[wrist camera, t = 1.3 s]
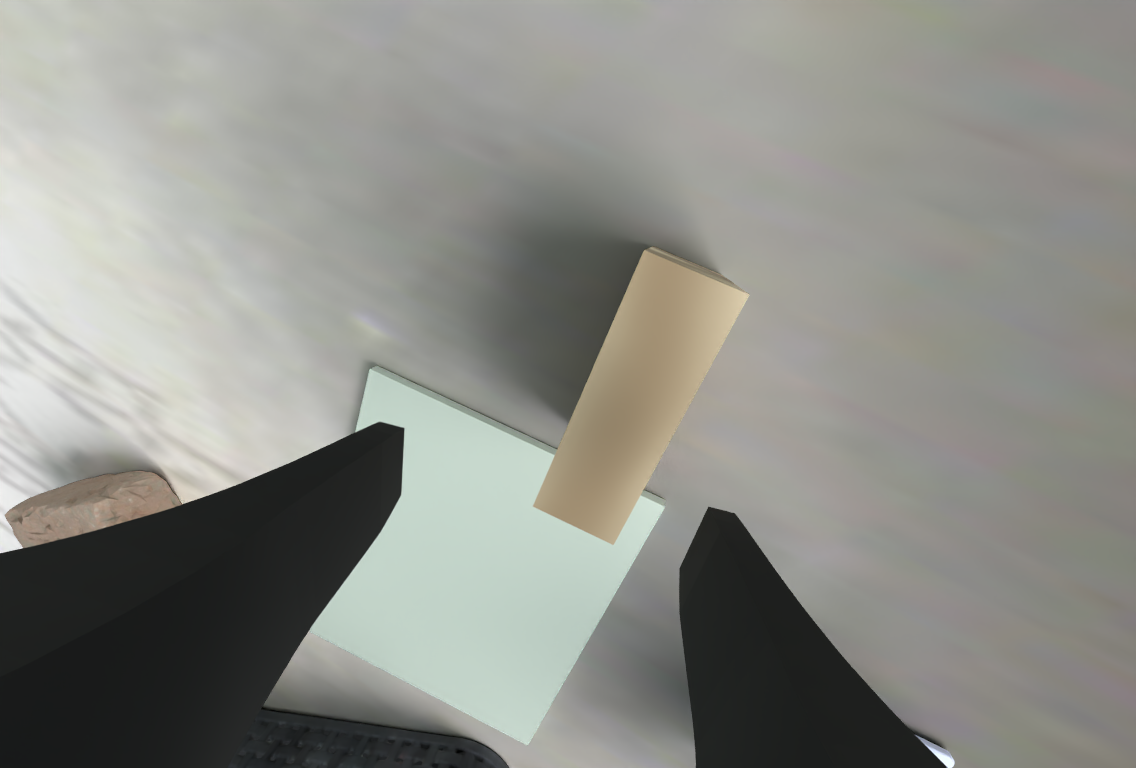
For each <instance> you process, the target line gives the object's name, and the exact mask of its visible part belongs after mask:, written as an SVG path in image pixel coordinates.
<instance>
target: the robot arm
mask: <svg viewBox="0 0 1136 768" xmlns="http://www.w3.org/2000/svg"><path fill="white" fill-rule="evenodd" d="M404 430H405V428H403V427H399V426H395V425H391V424H387V423H384V422H377V423H375V424H372V425H370V426H368V427H366V428H364V429H361V430H359V431H357V432H355V433H353V434H351V435H349V436H347V437H345V438H343V439H340V440H338V441H336V442H334V443H332V444H330V445H328V446H326V447H323V448H321V449H319V450H317V451H315V452H313V453H311V454H308V455H306V456H304V457H302V458H300V459H298V460H295V461H293V462H291V463H289V464H286V465H284V466H281V467H279V468H277V469H274V470H272V471H269V472H267V473H265V474H262V475H260V476H257V477H255V478H253V479H250V480H248V481H245V482H243V483H241V484H238V485H236V486H233V487H230V488H228V489H225V490H222V491H220V492H217V493H214V494H211V495H209V496H206V497H203V498H200V499H197V500H194V501H191V502H188V503H185V504H182V505H179V506H176V507H173V508H170V509H167V510H164V511H161V512H158V513H154V514H151V515H147V516H144V517H140V518H137V519H133V520H130V521H126V522H123V523H119V524H116V525H112V526H109V527H105V528H102V529H98V530H95V531H91V532H88V533H84V534H80V535H76V536H72V537H68V538H64V539H60V540H56V541H52V542H48V543H44V544H40V545H35V546H31V547H27V548H22V549H18V550H13V551H9V552H5V553H0V768H227V767H228V765H229V764H230V762H231V760H232V758H233V756H234V755H235V753H236V751H237V749H238V747H239V746H240V744H241V742H242V740H243V739H244V737H245V735H246V734H247V732H248V730H249V728H250V727H251V725H252V723H253V722H254V720H255V718H256V716H257V715H258V713H259V711H260V710H261V708H262V706H263V704H264V703H265V701H266V699H267V698H268V696H269V694H270V692H271V691H272V689H273V687H274V686H275V684H276V683H277V681H278V679H279V678H280V676H281V674H282V673H283V671H284V669H285V668H286V666H287V664H288V663H289V661H290V660H291V658H292V656H293V655H294V653H295V651H296V650H297V648H298V646H299V645H300V643H301V642H302V640H303V639H304V637H305V636H306V634H307V633H308V631H309V630H310V628H311V627H312V625H313V624H314V622H315V621H316V620H317V618H318V617H319V615H320V614H321V613H322V611H323V610H324V609H325V607H326V606H327V605H328V603H329V602H330V601H331V599H332V598H333V597H334V595H335V594H336V592H337V591H338V590H339V588H340V587H341V586H342V584H343V583H344V582H345V580H346V579H347V578H348V576H349V575H350V574H351V572H352V571H353V570H354V568H355V567H356V565H357V564H358V563H359V561H360V560H361V559H362V557H363V556H364V555H365V553H366V552H367V550H368V549H369V548H370V546H371V545H372V544H373V542H374V541H375V539H376V538H377V537H378V535H379V534H380V532H381V531H382V529H383V527H384V525H385V524H386V522H387V520H388V518H389V517H390V515H391V513H392V511H393V509H394V508H395V506H396V504H397V502H398V500H399V498H400V497H401V492H402V471H403V451H404ZM679 605H680V621H681V630H682V638H683V646H684V655H685V663H686V671H687V678H688V686H689V694H690V702H691V710H692V718H693V728H694V739H695V752H696V768H952V767H953V765H954V760H953V758H952V756H951V754H950V753H949V752H948V751H947V750H945V749H943V748H941V747H939V746H937V745H935V744H933V743H931V742H929V741H927V740H925V739H923V738H921V737H919V736H917V735H915V734H914V733H913V732H912V731H911V730H910V729H909V728H908V727H907V726H906V725H905V724H904V723H903V722H902V721H901V720H900V719H899V718H898V717H897V716H896V715H895V714H894V713H893V712H892V711H891V710H890V709H889V708H888V706H887V705H886V704H885V703H884V702H883V701H882V700H881V699H880V698H879V697H878V696H877V694H876V693H875V692H874V691H873V690H872V689H871V688H870V687H869V686H868V684H867V683H866V682H865V681H864V680H863V679H862V678H861V677H860V676H859V675H858V673H857V672H856V671H855V670H854V669H853V668H852V667H851V666H850V664H849V663H848V662H847V661H846V660H845V659H844V657H843V656H842V655H841V654H840V653H839V652H838V650H837V649H836V648H835V647H834V645H833V644H832V643H831V642H830V641H829V639H828V638H827V637H826V636H825V634H824V633H823V632H822V631H821V629H820V628H819V627H818V626H817V624H816V623H815V622H814V621H813V620H812V618H811V617H810V616H809V614H808V613H807V612H806V611H805V609H804V608H803V607H802V605H801V604H800V603H799V601H798V600H797V599H796V597H795V596H794V595H793V593H792V592H791V591H790V589H789V588H788V587H787V585H786V584H785V583H784V581H783V580H782V579H781V577H780V576H779V574H778V573H777V572H776V570H775V569H774V567H773V566H772V565H771V563H770V562H769V560H768V559H767V558H766V556H765V555H764V553H763V552H762V550H761V549H760V548H759V546H758V545H757V543H756V542H755V541H754V539H753V538H752V536H751V535H750V533H749V532H748V531H747V529H746V528H745V526H744V525H743V524H742V522H741V521H740V520H739V518H738V517H737V516H736V514H735V513H731V512H727V511H723V510H719V509H715V508H711V507H708V509H707V511H706V513H705V515H704V517H703V520H702V522H701V524H700V526H699V528H698V530H697V532H696V535H695V537H694V539H693V541H692V543H691V545H690V547H689V550H688V552H687V554H686V556H685V558H684V560H683V562H682V564H681V567H680V579H679Z"/></svg>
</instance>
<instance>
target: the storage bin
mask: <svg viewBox="0 0 1136 768" xmlns="http://www.w3.org/2000/svg"><path fill="white" fill-rule="evenodd" d="M227 768H509V767H508V766H507V764H506V763H505V762H504V761H503V760H502V759H501V758H500V757H499V756H498V755H497V754H495V753H494V752H493V751H492V750H490V749H488V748H487V747H485V746H484V745H481V744H479V743H477V742H474V741H471V740H468V739H464V738H457V737H450V736H443V735H435V734H428V733H421V732H414V731H408V730H402V729H395V728H389V727H382V726H376V725H370V724H363V723H356V722H349V721H341V720H334V719H326V718H319V717H313V716H306V715H299V714H291V713H283V712H276V711H268V710H260V711H259V713H258V715H257V716H256V718H255V720H254V722H253V723H252V725H251V727H250V728H249V730H248V732H247V734H246V735H245V737H244V739H243V740H242V742H241V744H240V746H239V747H238V749H237V751H236V753H235V755H234V756H233V758H232V760H231V762H230V764H229V765H228V767H227Z"/></svg>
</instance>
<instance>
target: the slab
mask: <svg viewBox="0 0 1136 768" xmlns="http://www.w3.org/2000/svg"><path fill="white" fill-rule="evenodd" d="M748 296H749V294H748V293H747V292H745V291H744V290H742V289H741V288H740V287H738V286H737V285H735V284H734V283H733V282H731V281H730V280H728V279H727V278H725V277H724V276H723V275H721V274H719V273H716V272H714V271H711V270H709V269H707V268H704V267H702V266H700V265H697V264H695V263H692V262H690V261H688V260H685V259H683V258H680V257H678V256H676V255H673V254H671V253H669V252H666V251H664V250H661V249H659V248H657V247H654V246H653V247H650V248H648V249H645V250H644V251H643V254H642V256H641V258H640V260H639V263H638V265H637V267H636V270H635V272H634V274H633V277H632V279H631V281H630V283H629V286H628V288H627V290H626V293H625V295H624V297H623V300H622V302H621V304H620V306H619V309H618V311H617V313H616V316H615V318H614V320H613V323H612V325H611V327H610V330H609V332H608V334H607V336H606V339H605V341H604V343H603V346H602V348H601V350H600V353H599V355H598V357H597V359H596V362H595V364H594V366H593V369H592V371H591V373H590V376H589V378H588V380H587V382H586V385H585V387H584V389H583V392H582V394H581V396H580V399H579V401H578V403H577V406H576V408H575V410H574V412H573V415H572V417H571V419H570V422H569V424H568V426H567V429H566V431H565V433H564V435H563V438H562V440H561V442H560V445H559V447H558V449H557V452H556V454H555V456H554V458H553V461H552V463H551V465H550V468H549V470H548V472H547V475H546V477H545V479H544V481H543V484H542V486H541V488H540V491H539V493H538V495H537V498H536V500H535V502H534V505H533V507H535V508H537V509H539V510H541V511H543V512H545V513H547V514H549V515H551V516H554V517H556V518H558V519H560V520H562V521H564V522H566V523H568V524H570V525H572V526H574V527H577V528H579V529H581V530H583V531H585V532H587V533H589V534H591V535H593V536H595V537H597V538H600V539H602V540H604V541H606V542H608V543H610V544H612V545H614V543H615V541H616V540H617V538H618V536H619V534H620V532H621V530H622V529H623V527H624V525H625V523H626V521H627V519H628V518H629V516H630V514H631V512H632V510H633V508H634V506H635V505H636V503H637V501H638V499H639V497H640V495H641V494H642V492H643V490H644V488H645V486H646V484H647V482H648V481H649V479H650V477H651V475H652V473H653V471H654V470H655V468H656V466H657V464H658V462H659V460H660V459H661V457H662V455H663V453H664V451H665V449H666V447H667V446H668V444H669V442H670V440H671V438H672V436H673V435H674V433H675V431H676V429H677V427H678V425H679V424H680V422H681V420H682V418H683V416H684V414H685V412H686V411H687V409H688V407H689V405H690V403H691V401H692V400H693V398H694V396H695V394H696V392H697V390H698V389H699V387H700V385H701V383H702V381H703V379H704V377H705V376H706V374H707V372H708V370H709V368H710V366H711V365H712V363H713V361H714V359H715V357H716V355H717V354H718V352H719V350H720V348H721V346H722V344H723V342H724V341H725V339H726V337H727V335H728V333H729V331H730V330H731V328H732V326H733V324H734V322H735V320H736V319H737V317H738V315H739V313H740V311H741V309H742V307H743V306H744V304H745V302H746V300H747V298H748Z"/></svg>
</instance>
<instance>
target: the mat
mask: <svg viewBox="0 0 1136 768" xmlns="http://www.w3.org/2000/svg"><path fill="white" fill-rule="evenodd" d="M377 422H384V423H387V424H391V425H395V426H399V427H403V428H405V430H404V451H403V471H402V492H401V497H400V498H399V500H398V502H397V504H396V506H395V508H394V509H393V511H392V513H391V515H390V517H389V518H388V520H387V522H386V524H385V525H384V527H383V529H382V531H381V532H380V534H379V535H378V537H377V538H376V539H375V541H374V542H373V544H372V545H371V546H370V548H369V549H368V550H367V552H366V553H365V555H364V556H363V557H362V559H361V560H360V561H359V563H358V564H357V565H356V567H355V568H354V570H353V571H352V572H351V574H350V575H349V576H348V578H347V579H346V580H345V582H344V583H343V584H342V586H341V587H340V588H339V590H338V591H337V592H336V594H335V595H334V597H333V598H332V599H331V601H330V602H329V603H328V605H327V606H326V607H325V609H324V610H323V611H322V613H321V614H320V615H319V617H318V618H317V620H316V621H315V622H314V624H313V625H312V627H311V629H310V632H311V633H313V634H315V635H317V636H319V637H321V638H322V639H324V640H326V641H328V642H330V643H332V644H334V645H336V646H338V647H340V648H342V649H343V650H345V651H347V652H349V653H351V654H353V655H355V656H357V657H359V658H361V659H363V660H364V661H366V662H368V663H370V664H372V665H374V666H376V667H378V668H380V669H382V670H384V671H386V672H387V673H389V674H391V675H393V676H395V677H397V678H399V679H401V680H403V681H405V682H407V683H408V684H410V685H412V686H414V687H416V688H418V689H420V690H422V691H424V692H426V693H428V694H429V695H431V696H433V697H435V698H437V699H439V700H441V701H443V702H445V703H447V704H449V705H450V706H452V707H454V708H456V709H458V710H460V711H462V712H464V713H466V714H468V715H470V716H472V717H473V718H475V719H477V720H479V721H481V722H483V723H485V724H487V725H489V726H491V727H493V728H494V729H496V730H498V731H500V732H502V733H504V734H506V735H508V736H510V737H512V738H514V739H515V740H517V741H519V742H521V743H523V744H525V745H527V746H528V744H529V742H530V741H531V739H532V737H533V735H534V734H535V732H536V730H537V728H538V727H539V725H540V723H541V721H542V720H543V718H544V716H545V715H546V713H547V711H548V709H549V708H550V706H551V704H552V702H553V701H554V699H555V697H556V695H557V694H558V692H559V690H560V688H561V687H562V685H563V683H564V682H565V680H566V678H567V676H568V675H569V673H570V671H571V669H572V668H573V666H574V664H575V662H576V661H577V659H578V657H579V655H580V654H581V652H582V650H583V649H584V647H585V645H586V643H587V642H588V640H589V638H590V636H591V635H592V633H593V631H594V629H595V628H596V626H597V624H598V622H599V621H600V619H601V617H602V616H603V614H604V612H605V610H606V609H607V607H608V605H609V603H610V602H611V600H612V598H613V596H614V595H615V593H616V591H617V589H618V588H619V586H620V584H621V583H622V581H623V579H624V577H625V576H626V574H627V572H628V570H629V569H630V567H631V565H632V563H633V562H634V560H635V558H636V557H637V555H638V553H639V551H640V550H641V548H642V546H643V544H644V543H645V541H646V539H647V537H648V536H649V534H650V532H651V530H652V529H653V527H654V525H655V524H656V522H657V520H658V518H659V517H660V515H661V513H662V511H663V510H664V508H665V500H664V499H662V498H660V497H658V496H656V495H654V494H652V493H649V492H647V491H645V490H643V492H642V494H641V495H640V497H639V499H638V501H637V503H636V505H635V506H634V508H633V510H632V512H631V514H630V516H629V518H628V519H627V521H626V523H625V525H624V527H623V529H622V530H621V532H620V534H619V536H618V538H617V540H616V541H615V543H614V545H612V544H610V543H608V542H606V541H604V540H602V539H600V538H597V537H595V536H593V535H591V534H589V533H587V532H585V531H583V530H581V529H579V528H577V527H574V526H572V525H570V524H568V523H566V522H564V521H562V520H560V519H558V518H556V517H554V516H551V515H549V514H547V513H545V512H543V511H541V510H539V509H537V508H535V507H533V505H534V502H535V500H536V498H537V495H538V493H539V491H540V488H541V486H542V484H543V481H544V479H545V477H546V475H547V472H548V470H549V468H550V465H551V463H552V461H553V458H554V456H555V454H556V452H557V449H555V448H553V447H551V446H548V445H546V444H544V443H542V442H540V441H538V440H536V439H533V438H531V437H529V436H527V435H525V434H523V433H521V432H518V431H516V430H514V429H512V428H510V427H508V426H505V425H503V424H501V423H499V422H497V421H495V420H493V419H490V418H488V417H486V416H484V415H482V414H480V413H478V412H475V411H473V410H471V409H469V408H467V407H465V406H463V405H460V404H458V403H456V402H454V401H452V400H450V399H447V398H445V397H443V396H441V395H439V394H437V393H435V392H432V391H430V390H428V389H426V388H424V387H422V386H420V385H417V384H415V383H413V382H411V381H409V380H407V379H404V378H402V377H400V376H398V375H396V374H394V373H392V372H389V371H387V370H385V369H383V368H381V367H379V366H375V367H373V368H370V369H369V374H368V378H367V383H366V387H365V391H364V396H363V400H362V405H361V409H360V413H359V418H358V422H357V427H356V431H355V432H357V431H359V430H361V429H364V428H366V427H368V426H370V425H372V424H375V423H377Z"/></svg>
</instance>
